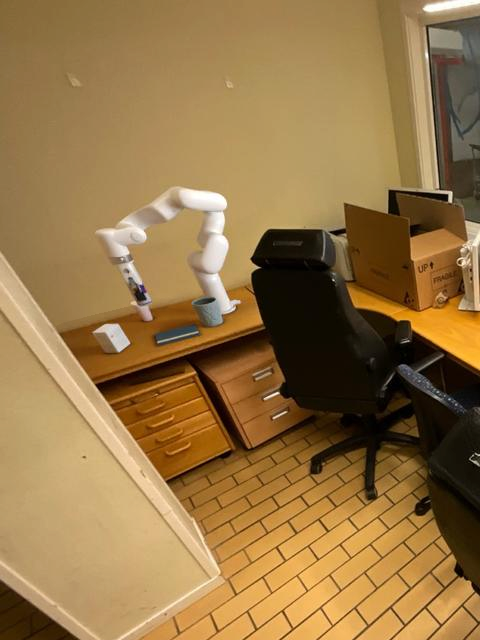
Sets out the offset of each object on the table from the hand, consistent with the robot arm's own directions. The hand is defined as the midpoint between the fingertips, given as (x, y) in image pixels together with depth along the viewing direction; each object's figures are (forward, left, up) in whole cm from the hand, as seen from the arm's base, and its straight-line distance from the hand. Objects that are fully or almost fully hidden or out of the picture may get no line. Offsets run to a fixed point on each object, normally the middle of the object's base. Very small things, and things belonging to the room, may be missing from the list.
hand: (142, 298), depth 177 cm
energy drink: (0, 0, -3) cm, 3 cm away
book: (-6, +9, -18) cm, 21 cm away
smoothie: (+4, -19, -18) cm, 26 cm away
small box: (+16, +7, -18) cm, 25 cm away
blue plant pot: (-21, +5, -18) cm, 28 cm away
